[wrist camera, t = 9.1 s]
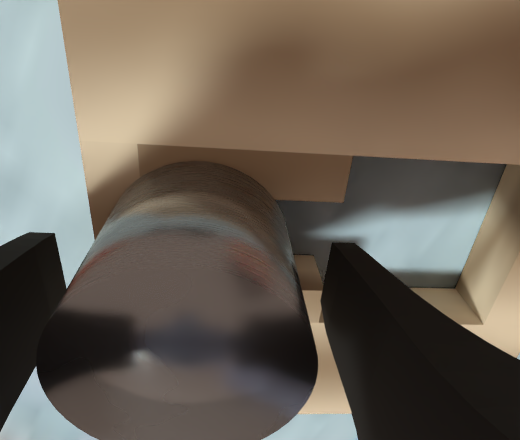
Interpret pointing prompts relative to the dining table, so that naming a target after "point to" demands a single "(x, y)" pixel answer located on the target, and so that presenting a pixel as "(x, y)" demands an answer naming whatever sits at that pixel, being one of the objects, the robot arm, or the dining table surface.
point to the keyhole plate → (310, 116)
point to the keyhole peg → (183, 315)
